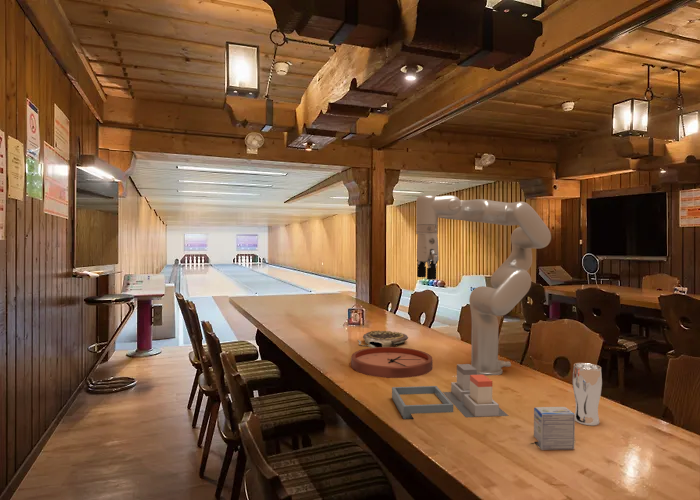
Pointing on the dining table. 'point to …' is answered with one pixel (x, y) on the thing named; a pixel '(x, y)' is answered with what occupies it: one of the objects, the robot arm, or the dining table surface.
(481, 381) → the block
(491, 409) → the board
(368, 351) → the clock
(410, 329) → the dining table surface
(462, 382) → the block
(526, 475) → the dining table surface
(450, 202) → the robot arm
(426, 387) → the grey open square frame
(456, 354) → the dining table surface
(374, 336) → the pie
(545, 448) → the medicine box
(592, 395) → the beer glass
